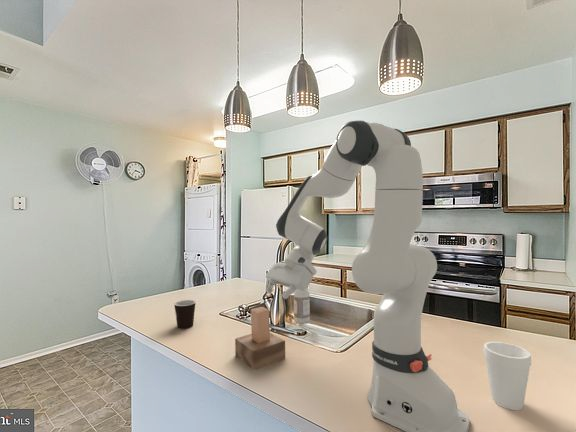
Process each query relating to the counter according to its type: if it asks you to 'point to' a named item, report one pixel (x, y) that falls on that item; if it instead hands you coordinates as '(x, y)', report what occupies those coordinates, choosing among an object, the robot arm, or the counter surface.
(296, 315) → the bath foam
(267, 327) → the light wooden block
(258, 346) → the walnut block
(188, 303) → the coffee mug
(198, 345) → the counter surface
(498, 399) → the foam cup
